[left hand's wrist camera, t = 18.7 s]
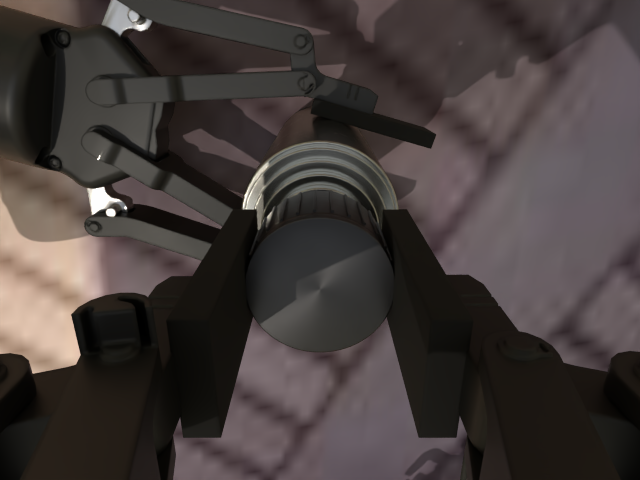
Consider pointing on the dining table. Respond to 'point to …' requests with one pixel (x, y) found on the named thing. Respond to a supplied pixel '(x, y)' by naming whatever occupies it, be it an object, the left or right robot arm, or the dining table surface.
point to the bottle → (319, 167)
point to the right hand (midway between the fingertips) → (405, 195)
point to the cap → (319, 273)
